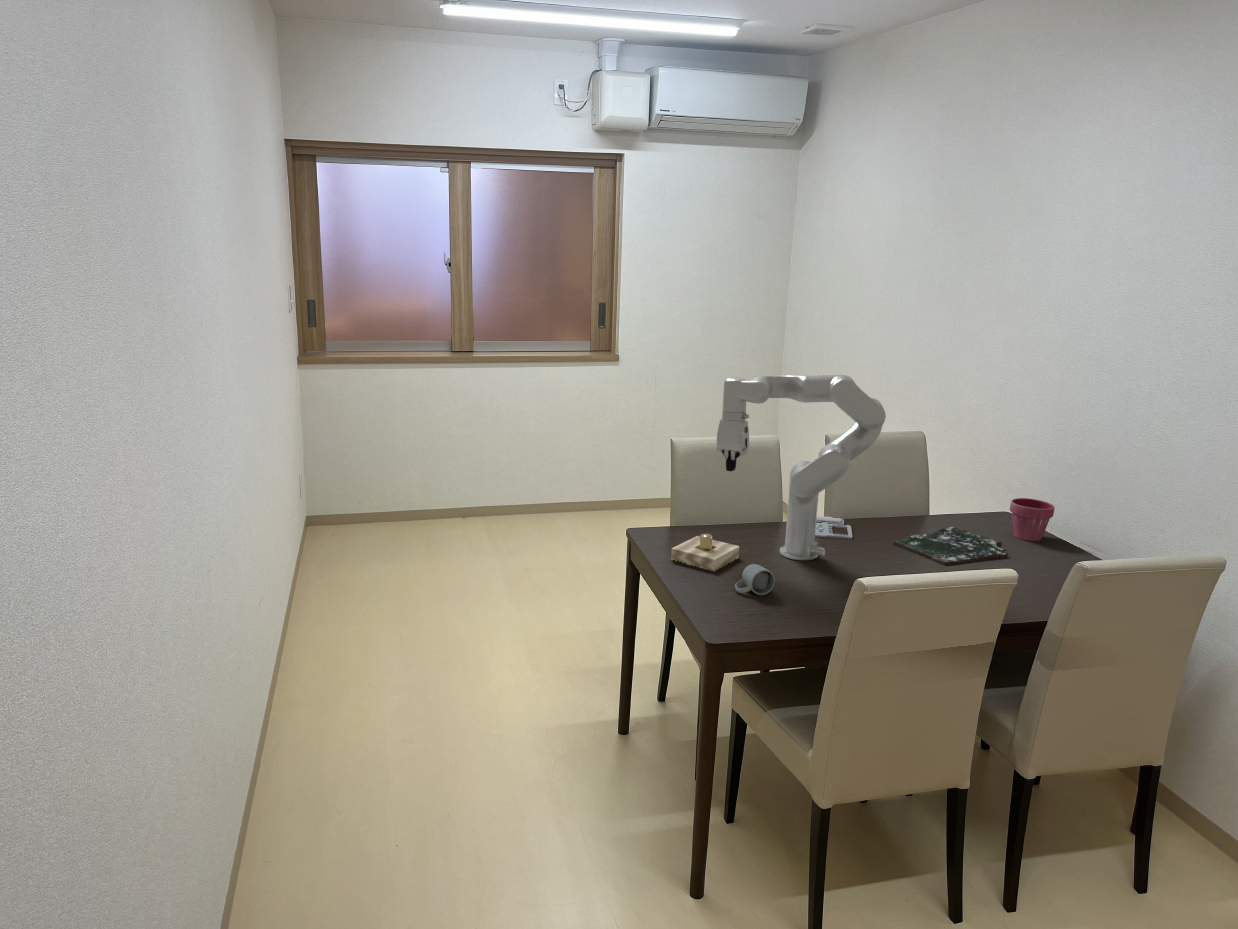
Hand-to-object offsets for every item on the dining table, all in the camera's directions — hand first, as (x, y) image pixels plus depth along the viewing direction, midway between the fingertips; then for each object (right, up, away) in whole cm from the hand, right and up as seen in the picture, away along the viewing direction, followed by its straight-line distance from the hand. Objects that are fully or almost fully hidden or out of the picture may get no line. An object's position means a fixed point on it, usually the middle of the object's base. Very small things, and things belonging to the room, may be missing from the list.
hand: (730, 470), depth 284 cm
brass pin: (-9, -29, -4) cm, 31 cm away
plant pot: (+110, -24, +26) cm, 116 cm away
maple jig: (-9, -29, -4) cm, 31 cm away
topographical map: (+79, -28, +11) cm, 84 cm away
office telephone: (+38, -22, +30) cm, 53 cm away
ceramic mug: (+3, -36, -29) cm, 46 cm away
